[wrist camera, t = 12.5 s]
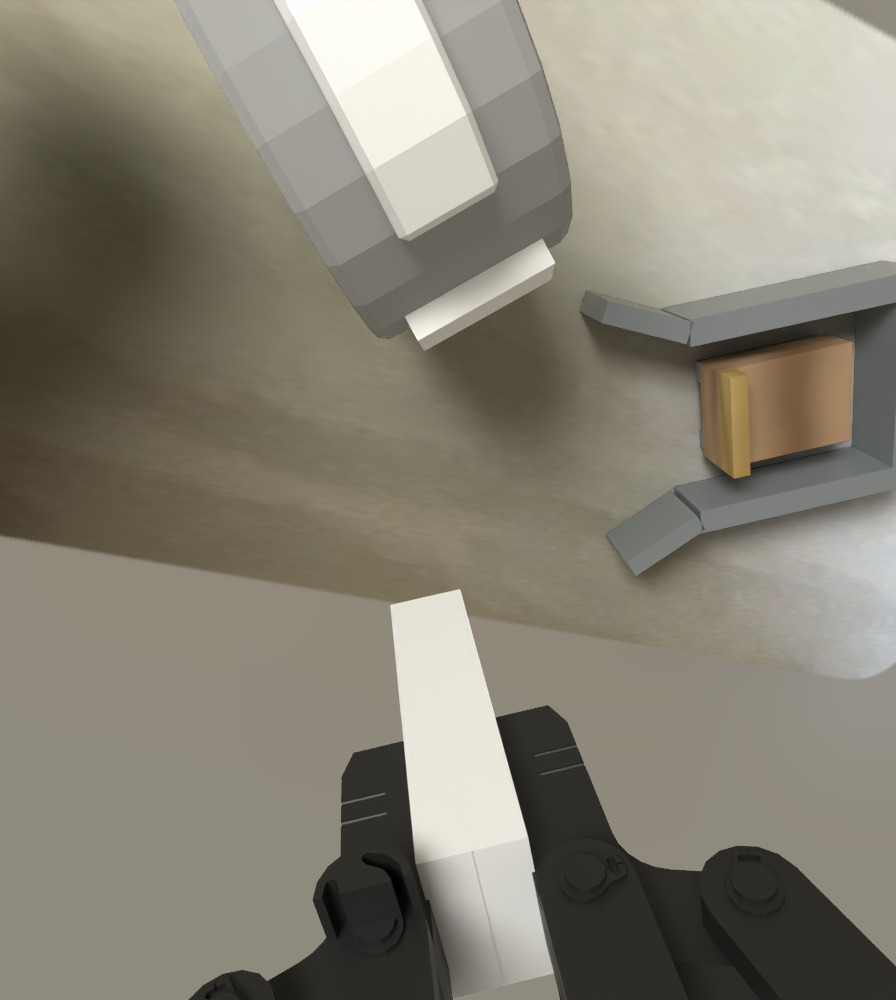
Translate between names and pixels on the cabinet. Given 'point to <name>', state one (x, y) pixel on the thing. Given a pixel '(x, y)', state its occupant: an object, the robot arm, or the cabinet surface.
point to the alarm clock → (402, 146)
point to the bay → (792, 484)
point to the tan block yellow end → (774, 401)
